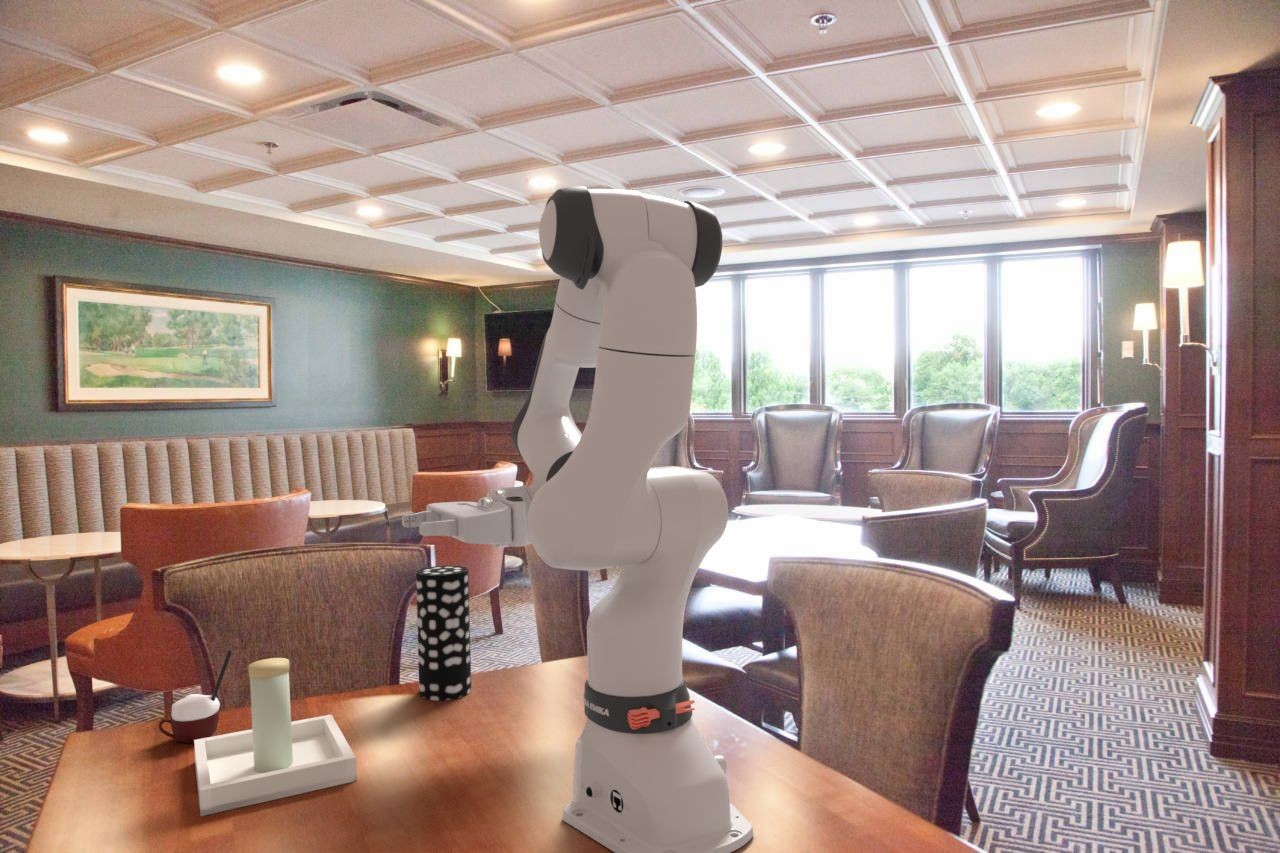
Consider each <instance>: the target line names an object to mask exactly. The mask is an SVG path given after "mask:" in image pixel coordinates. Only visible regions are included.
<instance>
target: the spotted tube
mask: <svg viewBox="0 0 1280 853" xmlns="http://www.w3.org/2000/svg"><path fill="white" fill-rule="evenodd" d="M469 578H470V577H469V568H468V567H466V566H463V565H436V566H435V565H434V566H429V567H424V568H420V569H418V570H416V572H415V580H416V583H415V584H416V615H417V616H416V618H417V621H416V622H417V648H418V649H417V652H418V654H417V659H418V661H417V662H418V690H419V691H418V693H419V697H420V698H422V699H424V700H427V701H428V700H429V701H435V702H436V701H450V700H456V699H459V698H462V697H465V696H467V695H468V694H470V693H471V692H472V662H471V659H472V658H471V632H470V631H471V627H470V626H471V623H470V622H471V621H470V620H471V619H470V617H471V616H470V615H471V614H470V586H469V584H470V583H469V580H470V579H469Z"/></svg>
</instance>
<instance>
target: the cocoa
mask: <svg viewBox="0 0 1280 853" xmlns="http://www.w3.org/2000/svg"><path fill="white" fill-rule="evenodd" d="M232 651H233V650H232V648H229V649H227V652H226V656H225V658H224V661H223V664H222V667H221V668H220V672H219V674H218V678H217V681H216V684H215V686H214V689H213V692H212V694H211V695H207V694H197V693H191V694H188V695H186V696H185V697H183V698H181V699H178V700H177V701H176V702H174V703H172V705H171V715H170V719H169V718H164V719H162V720H160V722H159V723H158V729H159V731H160V733H162V734H163V735H165V736H167V737H169V738H171V739H176V740H177V741H179V742H182V743H184V742H185V743H184V744H194V740H197V739H202V738H207V737H212V736H214V734H215V733H216V731H217V729H218V725H219V719H220V706H221V703H220V701H219V699H218V697H217V696H218V692H219V689H220V687H221V683H222V680H223V678H224V675H225V672H226V670H227V666H228V664H229V660H230V658H231V655H232V653H233V652H232ZM165 723H168V724H170V726H171V731H172V733H171V732H169V731H167V730H165V729H164V728H163V726H162V725H163V724H165Z"/></svg>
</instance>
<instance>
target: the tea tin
mask: <svg viewBox="0 0 1280 853" xmlns="http://www.w3.org/2000/svg"><path fill="white" fill-rule="evenodd" d="M248 678H249V685H250V687H249V688H250V690H249V691H250V707H251V708H250V709H251V711H250V712H251V727H252V728H251V729H252V732H253V754H254V770H255V771H257V772H271V771H276V770H280V769H284V768H286V767H288V766H290V765H291V764H292V763H293V752H292V731H291V722H292V716H291V713H292V712H291V691H290V690H291V688H290V659H288V658H285V657H271V658H270V657H269V658H266V659H265V658H264V659H260V660H257V661H254V662H251V663H249V665H248Z"/></svg>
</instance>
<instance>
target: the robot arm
mask: <svg viewBox="0 0 1280 853" xmlns="http://www.w3.org/2000/svg"><path fill="white" fill-rule="evenodd" d="M538 237H539V244H540V245H539V246H540V248H541V255H542V258H543V261H544V262H545V264H546V265H547V266H548V267H549V268H550V270H551V271H553V273H554V274H556V275H559V277H560V278H559V281H558V282H559V283H558V286H557V290H556V291H557V292H556V296H555V301H554V302H555V303H554V308H553V313H552V318H551V322H550V325H549V327H548V328H547V330H546V332H545V335H544V338H543V340H542V344H541V346H540V347H541V348H540V350H539V353H538V357H537V362H536V365H535V369H534V372H533V377H532V381H531V385H530V387H529V392H528V394H527V398H526V400H525V403H524V404H523V406H522V408H521V409H520V411H519V412H518V414H517V415H516V417H515V419H514V421H513V424H512V426H511V430H510V431H511V432H510V440H511V444H512V446H513V448H514V449H515V451H516V453H518V455H519V456H520V457H521V459H522V460H523V461H524V462H525V464H526V466H527V467H528V469H529V471H530V473H531V474H532V476H533V477H532V478H533V479H532V483H531V484H530V485H528V486H522V485H521V486H509V487H495V488H490V489H489V490H488V492H487V493H486V496H485V497H481V498H479V499H478V502H476V501H449V502H447V501H445V502H433V503H428V504H427V505H426V507H425V510H423V511H419V512H415V513H410V514H404V515H402V517H401V524H402V526H403V527H404V528H406V529H410V528H417V527H418V534H420V535H421V536H423V537H432V536H434V537H435V536H436V537H437V536H439V537H452V538H453V539H457V540H458V541H460V542H463V543H465V544H470V545H491V546H492V547H493V548H496V549H498V548H509V547H514V548H515V547H516V548H517V547H518V548H519V547H526V546H527V545H528V546H529V545H530V544H531V545H532V547H533V549H534V551H535V552H536V554H537V555H538V556H539V558H540V559H541V560H542V561H543V562H544V563H545V564H546V565H548V566H549V567H551V568H553V569H563V570H570V571H571V570H572V571H589V572H592V571H597V570H598V571H599V570H605V569H611V568H616V567H617V568H618V567H621V568H620V571H619V575H618V577H617V579H616V581H615V583H614V585H613V586H612V588H611V589H610V591H609V592H607V593H606V595H605V596H604V597H603V598H602V599H600V600H599V601H598V602H597V603H596V604H595V605H594V606H593V607H592V609H591V611H590V613H589V615H588V619H587V622H586V623H587V624H586V648H587V649H586V650H587V651H586V652H587V654H586V655H587V679H586V680H585V682H584V691H583V703H584V707H583V708H584V715H585V716H586V717H587V718H586V721H585V724H584V728H583V729H582V731H581V734H580V735H579V737H578V738H577V740H576V742H575V746H574V748H575V750H574V761H573V762H574V763H573V784H572V786H573V787H572V800H571V801H570V802H568V803H567V804H566V805H565V806H564V808H563V810H562V820H563V821H564V822H565V823H567V824H568V825H570V826H571V827H573V828H574V829H576V830H578V831H579V832H582V833H583V834H584V835H586V836H588V837H590V838H591V839H593V840H594V841H595V842H597V843H599V844H600V845H602V846H604V847H606V848H607V849H609V850H610V851H612V852H613V853H732V852H734V851H736V850H738V849H740V848H742V847H743V846H745V845H746V844H747V843H748V842H749V841H751V839H752V838H753V836H754V829H753V824H751V823H750V821H749V820H748V819H747V818H746V817H745V815H743V814H742V812H740V810H738V808H737V807H736V806H735V805H734V804H733V803H732V802H731V801H730V791H729V789H730V788H729V783H728V779H727V775H726V774H727V770H728V769H727V762H726V760H725V758H724V755H721V754H716V755H714V754H713V752H712V750H711V748H710V746H708V743H707V742H706V739H705V737H704V734H702V733H700V731H699V729H698V727H697V726H696V724H695V722H694V720H693V718H692V716H693V711H694V710H695V709H696V708H695V707H692V705H693V704H694V703H695V700H693V699H692V700H690V699H691V695H690V693H689V692H690V691H689V690H688V687H687V686H688V685H687V683H686V680H685V678H684V677H683V631H684V630H683V629H684V616H685V610H686V605H687V601H688V597H689V593H690V591H691V588H692V585H693V583H694V582H693V581H694V579H695V576H696V574H697V572H698V570H699V568H700V565H701V564H702V562H703V560H704V558H705V557H706V555H707V554H708V553H709V551H710V550H711V549H712V547H713V546H715V545H716V544H717V542H718V541H719V540H720V539H721V537H722V536H723V534H724V533H725V530H726V528H727V524H728V519H729V507H728V506H729V505H728V499H727V496H726V493H725V491H724V489H723V487H722V485H721V483H720V482H719V481H718V480H717V478H716V477H715V476H714V475H713V474H711V473H709V472H707V471H704V470H699V469H694V468H691V467H685V466H678V465H669V466H655V467H652V464H653V462H654V460H655V459H656V457H657V455H658V453H659V452H660V451H661V449H663V447H664V445H665V444H667V443H668V442H669V441H670V440H672V439H673V438H674V437H676V435H678V434H679V433H680V432H681V431H683V429H684V427H685V426H686V424H687V423H688V420H689V418H690V412H691V403H692V393H693V384H694V383H693V382H694V373H695V363H696V362H695V361H696V352H697V350H696V349H697V333H698V332H697V331H698V311H697V310H698V308H697V307H698V306H697V305H698V304H697V293H696V292H697V291H696V288H698V287H701V286H703V285H705V284H707V282H708V281H709V280H710V279H711V278H712V277H713V276H714V274H715V273H716V272H717V270H718V267H719V264H720V261H721V256H722V252H723V230H722V227H721V224H720V221H719V219H718V217H717V215H716V213H714V211H713V210H712V209H710V208H708V207H706V206H704V205H701V204H699V203H696V202H694V201H693V202H692V201H690V200H685V201H679V200H675V199H672V198H666V197H663V196H658V195H654V194H653V195H652V194H647V193H641V192H640V191H637V190H630V189H629V190H628V189H617V188H616V189H615V188H587V186H583V185H582V186H581V185H580V186H568V187H561V188H559V189H556V190H555V191H554V192H553V193H552V195H551V196H550V197H549V198H548V199H547V202H546V203H545V206H544V210H543V212H542V214H541V218H540V221H539V229H538ZM580 368H581V369H583V368H586V369H589V368H590V369H591V368H593V369H594V368H595V373H594V382H593V388H592V389H593V390H592V396H591V404H590V409H589V415H588V417H587V421H586V423H585V427H584V430H583V432H582V431H581V430H580V429H579V427H578V426H577V424H576V423H575V420H574V418H573V415H572V413H571V408H570V401H571V397H572V394H573V389H574V386H575V384H576V380H577V377H578V374H579V370H580Z"/></svg>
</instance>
